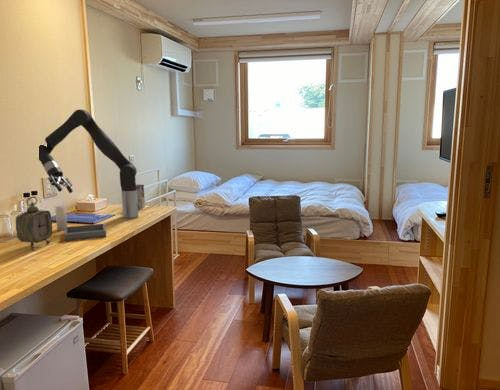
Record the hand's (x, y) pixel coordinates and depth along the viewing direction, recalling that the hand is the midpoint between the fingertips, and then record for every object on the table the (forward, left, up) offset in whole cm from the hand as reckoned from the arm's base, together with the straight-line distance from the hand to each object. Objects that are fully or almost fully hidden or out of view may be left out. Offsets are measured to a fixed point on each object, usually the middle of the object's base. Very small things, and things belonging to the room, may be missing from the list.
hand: (66, 191), depth 237 cm
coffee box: (-44, -28, -20) cm, 56 cm away
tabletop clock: (+14, +39, -20) cm, 46 cm away
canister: (+3, +10, -20) cm, 22 cm away
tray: (-9, +27, -20) cm, 34 cm away
